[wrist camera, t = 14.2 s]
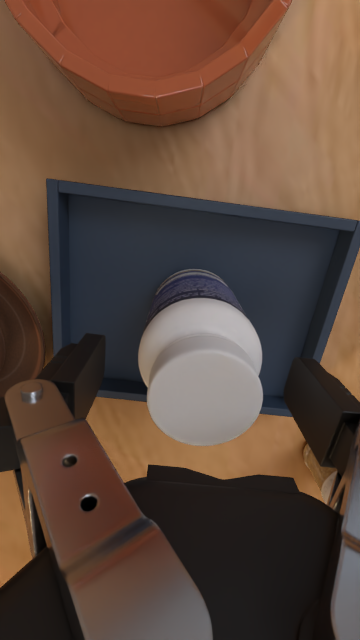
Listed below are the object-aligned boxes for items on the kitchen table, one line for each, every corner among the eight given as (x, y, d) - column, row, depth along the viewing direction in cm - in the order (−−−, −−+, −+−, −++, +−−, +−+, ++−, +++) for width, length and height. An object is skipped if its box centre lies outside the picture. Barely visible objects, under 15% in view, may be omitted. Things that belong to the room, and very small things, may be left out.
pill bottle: (136, 293, 18) (92, 376, 9) (210, 251, 17) (243, 297, 8) (177, 358, 20) (175, 481, 11) (247, 323, 19) (309, 427, 10)
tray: (65, 376, 21) (54, 392, 19) (60, 181, 16) (45, 178, 15) (291, 400, 22) (301, 418, 20) (348, 220, 17) (369, 221, 15)
